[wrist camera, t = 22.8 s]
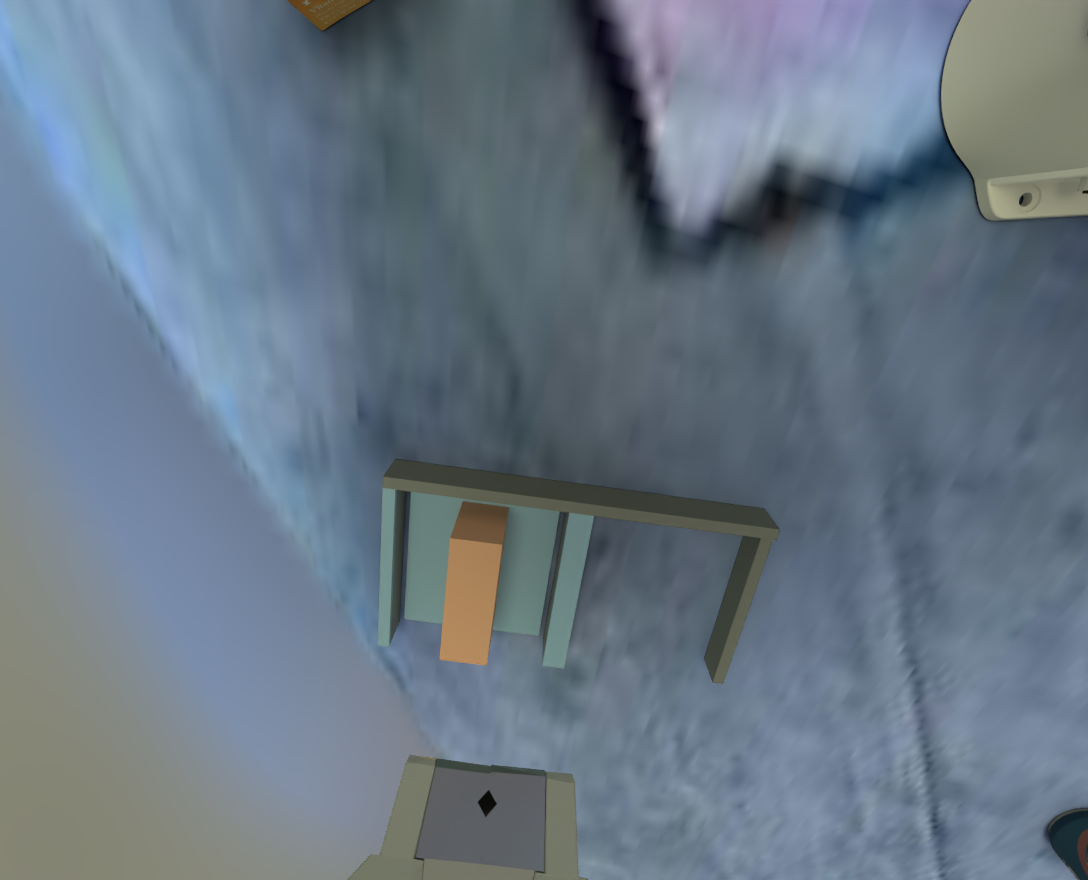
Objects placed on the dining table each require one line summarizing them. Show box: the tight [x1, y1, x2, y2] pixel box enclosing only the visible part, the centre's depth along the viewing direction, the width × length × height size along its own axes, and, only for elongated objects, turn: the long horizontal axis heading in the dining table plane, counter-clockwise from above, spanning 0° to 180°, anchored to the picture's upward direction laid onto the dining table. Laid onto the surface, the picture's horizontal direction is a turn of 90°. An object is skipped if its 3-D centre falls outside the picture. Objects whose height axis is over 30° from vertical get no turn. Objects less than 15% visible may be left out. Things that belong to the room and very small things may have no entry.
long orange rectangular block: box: [440, 501, 509, 665], centre depth 45 cm, size 4×12×6 cm, turn 172°
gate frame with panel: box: [378, 459, 780, 684], centre depth 47 cm, size 32×17×4 cm, turn 82°
